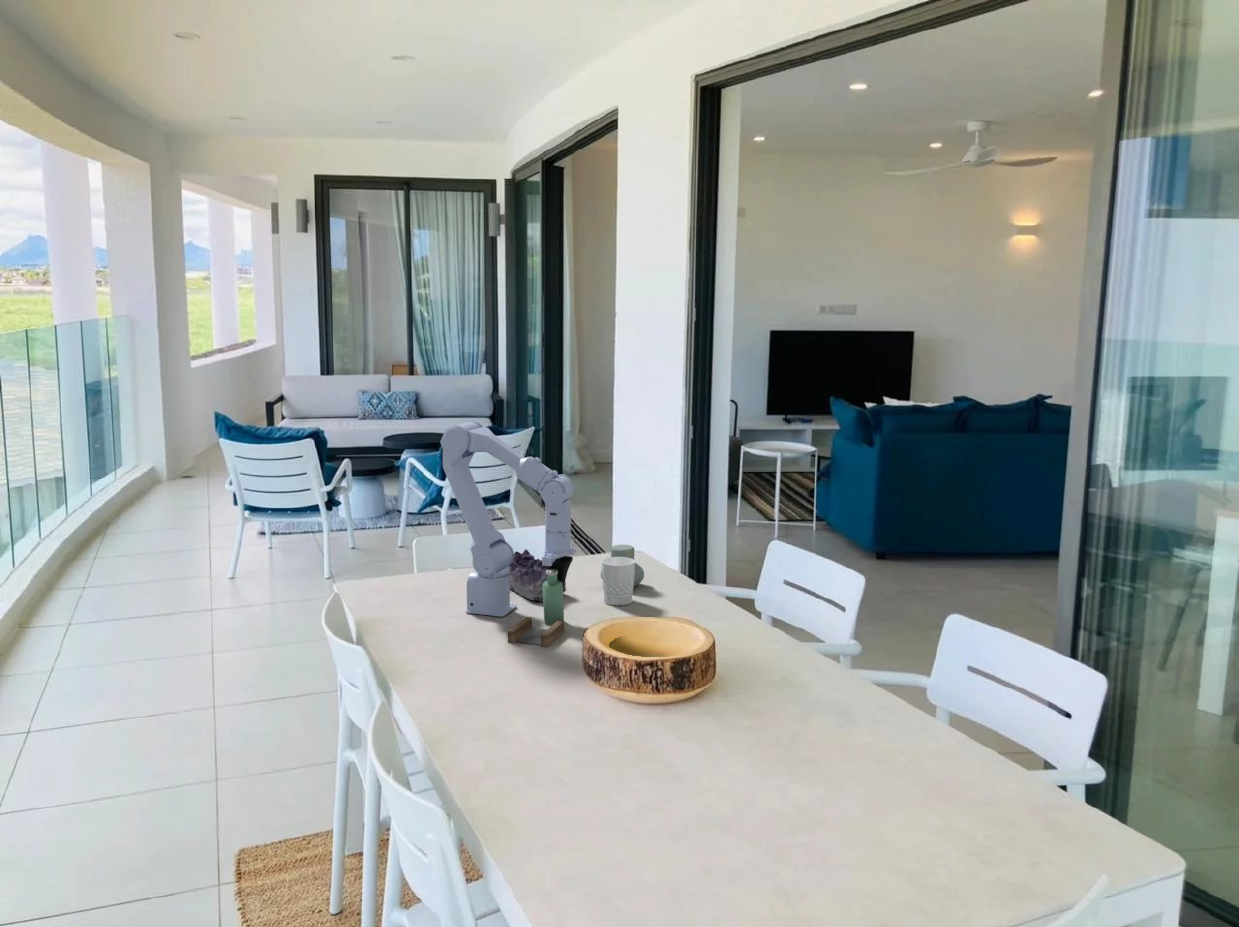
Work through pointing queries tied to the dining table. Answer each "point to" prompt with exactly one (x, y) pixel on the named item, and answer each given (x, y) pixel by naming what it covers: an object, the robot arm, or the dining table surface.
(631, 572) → the white cup
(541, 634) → the cradle
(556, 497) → the robot arm
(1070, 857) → the dining table surface
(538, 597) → the geode
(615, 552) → the air freshener
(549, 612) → the bottle
